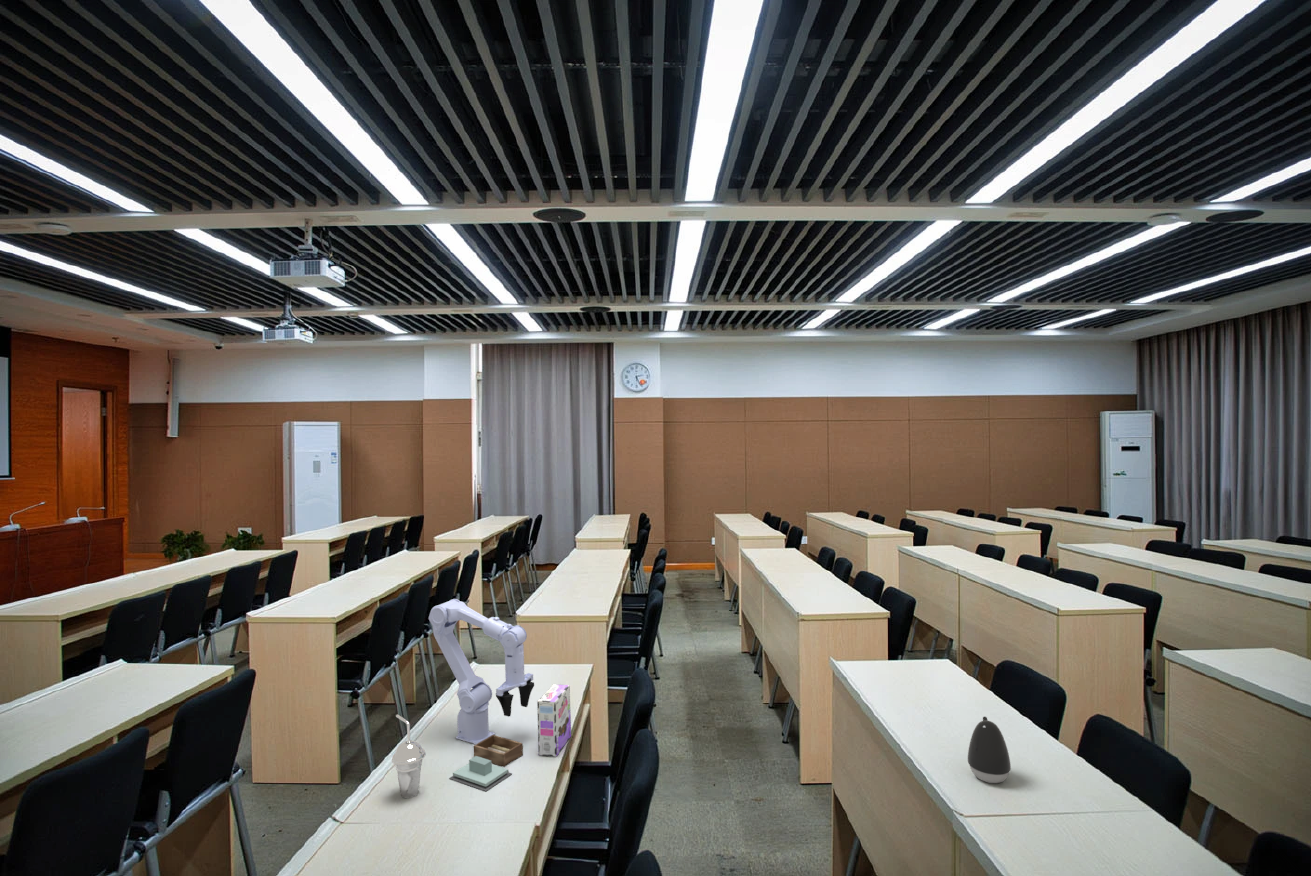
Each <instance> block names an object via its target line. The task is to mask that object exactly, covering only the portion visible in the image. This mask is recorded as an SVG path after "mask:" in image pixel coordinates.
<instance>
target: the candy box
mask: <svg viewBox="0 0 1311 876" xmlns="http://www.w3.org/2000/svg"><path fill="white" fill-rule="evenodd" d="M570 687H571V686H570V684H555V683H554V684H552V685H551V686H550V687H549V689H548V690H546V692H545V693H544V694H543V695H542V696H541V697H540V698H539V699H538V700H537V701H536V702H537V741H538V742H537V743H538V744H537V748H538V751H537V752H538V756H543V757H555V758H556V757H557V756H558V755H559V754H560V752H561V750H563V749H564V747H565V745H566V744H567V742H568V741H569V740H570V739H571V737H572V727H571V726H572V724H571V723H572V718H571V717H572V716H571V690H570V689H571V688H570Z"/></svg>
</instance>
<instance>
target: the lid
mask: <svg viewBox="0 0 1311 876" xmlns="http://www.w3.org/2000/svg"><path fill="white" fill-rule="evenodd" d="M508 772H509V769H508V768H505V767H502V766H499V765H496V764H493V763H492V761H491V760H488V759H485V758H481V757H478V756H475V757H474V756H473V757H472V758H470V759H469V760H468V763H466V764H465V765H463V766H462V767H460V768H459V769H456V770H455V771H453V772H452V776H456V777H458V778H461V779H464V780H467V781H470V782H473V783H476V784H479V785H482V786H485V787H486V786H488V785H489V784H491V783H493V782H494V781H496V780H497V779H499V778H500V777H502V776H503V775H505V774H506V773H508Z"/></svg>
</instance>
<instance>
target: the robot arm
mask: <svg viewBox="0 0 1311 876" xmlns="http://www.w3.org/2000/svg"><path fill="white" fill-rule="evenodd" d="M428 620H429V622H430V624H431V627H432V632H433V637H434V638H435V640H436V642H437V645H438V647H439V648H440V651H441V652H442V654H443V656H444V658H445V660H446V662H447V664H448V666H449V667H450V669H451V671H452V673H453V676H454V678H455V679H456V681H457V684H458V689H457V692H456V696H457V698H458V701H459V707H460V710H459V711H458V714H457V721H456V722H457V735H456V736H455V739H456V740H460V741H463V742H467V743H470V744H474V745H476V744H478V743H479V742H481V741H483V740H485V739H487V738H488V737H490V736H492V735H495V734H496V733H495V732H493V731H490V727H489V725H490V724H489V705H490V701H491V699H492V697H493V690H492V688H491V686H490V685H489V684H488V683H486V682H485V680H484V678H483V677H481V676H478V675H477V674H476V673H475V672H474V670H473V668H472V666H471V664H470V663H469V661H468V658H467V657H466V654H465V653H464V651H463V649H462V647H461V646H460V643H459V640H458V639H457V638H456V635H455V634H454V630H455V626H456V624H457V623H458V621H463V622H465V623H468V624H470V625H472V626H475V627H477V628H480V629H482V631H483V635H486V636H487V637H490V638H491V639H494V640H495V641H498V642H499V643H500V644H501V646H502V647H503V652H504V665H505V666H504V670H505V671H504V672H505V681H504V682H503V683H502V684H501V685H500V686H498V687H497V688H496V689H495V697H496V699H497V700H498V701H499V704H500V706H501V710H502V713H503V716H504V717H508V718H509V717H511V715H512V704H513V703H512V702H513V700H514V699H513V698H514V694H511V693H510V691H512V690H514V689H516V688H518V692H519V700H520V706H521V707H525V708H527V707H528V705H529V703H530V702H529V701H530V697H531V693H532V691H533V689H534V687H535V682H534V674H533V673H529V672H528V673H526V674H525V655H524V654H525V650H524V648H525V647H524V642H526V641H527V631H526V629H525V628H524V627H523V626H521V625H519V624H516V625H513V624H511V623H508V622H505V621H503V620H501V619H500V617H498V616H495V617H494V616H491V617H489V618H488V617H486V616H484V615H483V614H481V613H479V612H478V611H476V610H474V609H472V608H470V607H469V606H467V605H466V603H465V602H464V601H460V600H459V599H457V598H453V599H450V600H449V601H446V602H443V603H440V604H438V605H435V606H433V607H432V608H431V610H430V612H429V616H428Z"/></svg>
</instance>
